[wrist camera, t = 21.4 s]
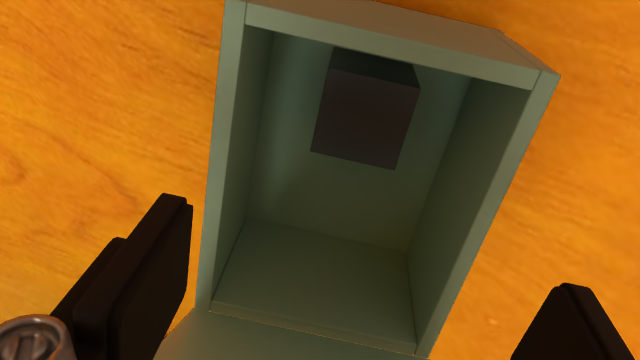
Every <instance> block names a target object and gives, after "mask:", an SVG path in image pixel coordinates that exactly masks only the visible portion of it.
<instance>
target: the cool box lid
mask: <svg viewBox="0 0 640 360" xmlns="http://www.w3.org/2000/svg"><path fill="white" fill-rule="evenodd" d="M153 360H430V359H425V358H421V357H416V356H411V355H407V354H402V353H398V352H393V351H388V350H384V349H379V348H375V347H370V346H366V345H361V344H356V343H352V342H347V341H343V340H338V339H333V338H329V337H324V336H320V335H315V334H310V333H306V332H301V331H297V330H292V329H288V328H283V327H278V326H274V325H269V324H265V323H260V322H255V321H251V320H246V319H242V318H237V317H232V316H228V315H223V314H219V313H214V312H209V311H205V310H200V309H196V308H193V309H192V310H191V311H190V312H189V313H188V314H187V315H186V316H185V317H184V319H183V320H182V321H181V322H180V323H179V324H178V325H177V326H176V327H175V328H174V329H173V330H172V331H171V332H170V334H169V335H168V336H167V337H166V338H165V339H164V340H163V341H162V342H161V344H160V346H159V348H158V350H157V352H156V354H155V356H154V358H153Z"/></svg>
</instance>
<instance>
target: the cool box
mask: <svg viewBox="0 0 640 360" xmlns="http://www.w3.org/2000/svg"><path fill="white" fill-rule="evenodd" d="M334 47H339V48H343V49H347V50H352V51H356V52H360V53H365V54H369V55H373V56H378V57H382V58H386V59H390V60H395V61H399V62H403V63H408V64H412V65H413V67H414V70H415V73H416V76H417V79H418V82H419V84H420V87H421V91H420V94H419V97H418V100H417V103H416V106H415V109H414V112H413V116H412V119H411V122H410V125H409V128H408V131H407V134H406V137H405V140H404V143H403V146H402V149H401V152H400V155H399V159H398V162H397V165H396V168H395V170H389V169H385V168H380V167H376V166H372V165H367V164H363V163H358V162H354V161H349V160H345V159H341V158H336V157H332V156H327V155H323V154H319V153H314V152H310V148H311V144H312V139H313V135H314V130H315V125H316V121H317V116H318V112H319V107H320V102H321V98H322V93H323V89H324V84H325V80H326V75H327V70H328V66H329V63H330V59H331V55H332V52H333V48H334ZM560 78H561V75H560V74H558V73H557V72H555V71H554V70H553V69H551V68H550V67H549V66H547V65H546V64H545V63H543V62H542V61H540V60H539V59H538V58H536V57H535V56H534V55H532V54H531V53H529V52H528V51H527V50H525V49H524V48H523V47H521V46H520V45H519V44H517V43H516V42H514V41H513V40H512V39H510V38H509V37H508V36H506V35H505V34H504V33H503V32H501V31H500V30H496V29H491V28H487V27H483V26H479V25H474V24H470V23H466V22H462V21H457V20H453V19H449V18H444V17H440V16H436V15H432V14H427V13H423V12H419V11H415V10H410V9H406V8H402V7H398V6H393V5H389V4H385V3H380V2H376V1H372V0H225V6H224V16H223V26H222V36H221V46H220V56H219V66H218V76H217V86H216V96H215V106H214V117H213V127H212V137H211V147H210V157H209V167H208V177H207V187H206V197H205V207H204V217H203V227H202V237H201V247H200V257H199V267H198V277H197V288H196V298H195V308H196V309H200V310H205V311H211V312H215V313H220V314H225V315H229V316H234V317H238V318H243V319H247V320H252V321H257V322H261V323H266V324H270V325H275V326H280V327H284V328H289V329H293V330H298V331H303V332H307V333H312V334H316V335H321V336H326V337H330V338H335V339H339V340H344V341H348V342H353V343H358V344H362V345H367V346H371V347H376V348H381V349H385V350H390V351H394V352H399V353H404V354H408V355H413V354H414V356H417V357H422V358H428V357H429V355H430V353H431V351H432V348H433V346H434V344H435V342H436V340H437V338H438V336H439V334H440V331H441V329H442V327H443V325H444V323H445V321H446V319H447V317H448V315H449V312H450V310H451V308H452V306H453V304H454V302H455V300H456V298H457V296H458V293H459V291H460V289H461V287H462V285H463V283H464V281H465V279H466V276H467V274H468V272H469V270H470V268H471V266H472V264H473V262H474V260H475V257H476V255H477V253H478V251H479V249H480V247H481V245H482V243H483V241H484V238H485V236H486V234H487V232H488V230H489V228H490V226H491V224H492V221H493V219H494V217H495V215H496V213H497V211H498V209H499V207H500V205H501V202H502V200H503V198H504V196H505V194H506V192H507V190H508V188H509V185H510V183H511V181H512V179H513V177H514V175H515V173H516V171H517V169H518V166H519V164H520V162H521V160H522V158H523V156H524V154H525V152H526V150H527V147H528V145H529V143H530V141H531V139H532V137H533V135H534V133H535V130H536V128H537V126H538V124H539V122H540V120H541V118H542V116H543V114H544V111H545V109H546V107H547V105H548V103H549V101H550V99H551V97H552V95H553V92H554V90H555V88H556V86H557V84H558V82H559V80H560Z"/></svg>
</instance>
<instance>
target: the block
mask: <svg viewBox="0 0 640 360" xmlns="http://www.w3.org/2000/svg"><path fill="white" fill-rule="evenodd" d="M420 91H421V87H420V84H419V82H418V79H417V76H416V73H415V70H414V67H413V65H412V64H408V63H403V62H399V61H395V60H390V59H386V58H382V57H378V56H373V55H369V54H365V53H360V52H356V51H352V50H347V49H343V48H339V47H334V48H333V52H332V55H331V59H330V63H329V66H328V70H327V75H326V80H325V84H324V89H323V93H322V98H321V102H320V107H319V112H318V116H317V121H316V125H315V130H314V135H313V139H312V144H311V148H310V152H314V153H319V154H323V155H327V156H332V157H336V158H341V159H345V160H349V161H354V162H358V163H363V164H367V165H372V166H376V167H380V168H385V169H389V170H395V168H396V165H397V162H398V159H399V155H400V152H401V149H402V146H403V143H404V140H405V137H406V134H407V131H408V128H409V125H410V122H411V119H412V116H413V112H414V109H415V106H416V103H417V100H418V97H419V94H420Z"/></svg>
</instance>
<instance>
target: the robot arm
mask: <svg viewBox="0 0 640 360" xmlns="http://www.w3.org/2000/svg"><path fill="white" fill-rule="evenodd" d="M192 218H193V206H192V205H189V204H187V200H186V198H185V197H180V196H176V195H171V194H167V193H162V194H161V195H160V196H159V198H158V199H157V200H156V202H155V203H154V204H153V205H152V207H151V208H150V209H149V211H148V212H147V213H146V214H145V216H144V217H143V218H142V220H141V221H140V222H139V223H138V225H137V226H136V227H135V229H134V230H133V231H132V233H131V234H130V235H129V236H128V238H127V239H124V238H120V237H116V238H113V239H112V240H111V241H110V242H109V243H108V245H107V246H106V247H105V248H104V249H103V251H102V252H101V253H100V254H99V256H98V257H97V258H96V259H95V260H94V262H93V263H92V264H91V265H90V267H89V268H88V269H87V270H86V271H85V273H84V274H83V275H82V276H81V277H80V279H79V280H78V281H77V282H76V284H75V285H74V286H73V287H72V288H71V290H70V291H69V292H68V293H67V295H66V296H65V297H64V298H63V299H62V301H61V302H60V303H59V304H58V305H57V307H56V308H55V309H54V310H53V312H52V313H51V314H50V315H43V314H31V315H25V316H19V317H16V318H14V319H11V320H8V321H5V322H4V323H2V324H0V360H153V358H154V356H155V354H156V352H157V350H158V348H159V346H160V344H161V342H162V340H163V338H164V336H165V334H166V332H167V330H168V328H169V326H170V324H171V322H172V320H173V318H174V316H175V314H176V312H177V310H178V308H179V306H180V304H181V302H182V300H183V298H184V295H185V292H186V287H187V278H188V266H189V254H190V242H191V230H192ZM510 360H635V359H634V357H633V356H632V354H631V352H630V351H629V349H628V348H627V346H626V344H625V343H624V341H623V340H622V338H621V336H620V335H619V333H618V332H617V330H616V328H615V327H614V325H613V324H612V322H611V320H610V319H609V317H608V316H607V314H606V312H605V311H604V309H603V308H602V306H601V304H600V303H599V301H598V300H597V298H596V296H595V295H594V293H593V292H592V290H591V289H590V288H588V287H584V286H579V285H575V284H571V283H562V284H561V285H560V286H559V287H558V286H557V287H554V288H553V289H552V290H551V292H550V293H549V295H548V297H547V298H546V300H545V301H544V303H543V305H542V306H541V308H540V310H539V311H538V313H537V315H536V316H535V318H534V320H533V321H532V323H531V324H530V326H529V328H528V329H527V331H526V333H525V334H524V336H523V338H522V339H521V341H520V343H519V344H518V346H517V348H516V349H515V351H514V352H513V354H512V356H511V359H510Z"/></svg>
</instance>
